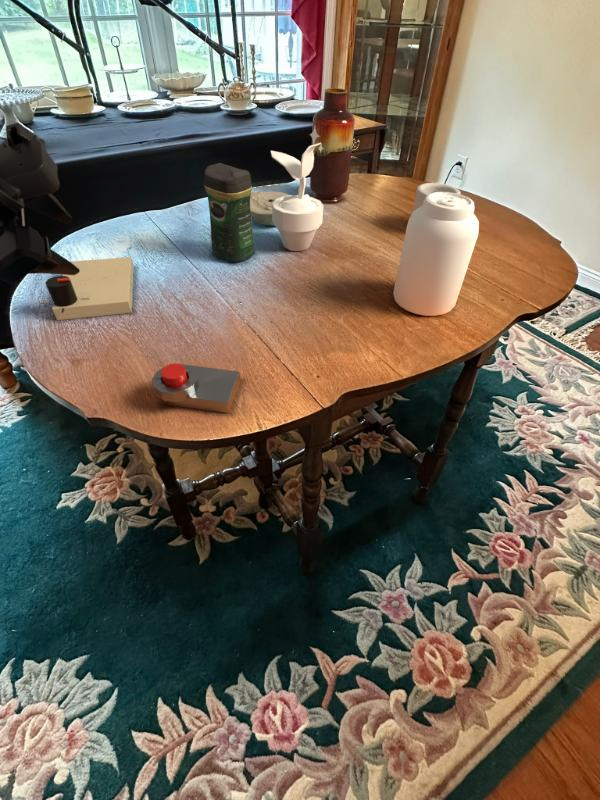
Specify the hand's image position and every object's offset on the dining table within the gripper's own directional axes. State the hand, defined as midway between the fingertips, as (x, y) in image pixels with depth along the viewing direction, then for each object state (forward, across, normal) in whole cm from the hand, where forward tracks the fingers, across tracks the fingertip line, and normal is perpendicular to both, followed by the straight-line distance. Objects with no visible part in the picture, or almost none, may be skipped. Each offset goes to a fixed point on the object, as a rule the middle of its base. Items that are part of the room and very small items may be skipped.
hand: (73, 246), depth 59 cm
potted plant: (+48, +21, -20) cm, 56 cm away
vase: (+68, +46, -30) cm, 87 cm away
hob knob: (+13, +7, +17) cm, 23 cm away
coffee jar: (+40, +20, -7) cm, 45 cm away
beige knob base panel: (+19, +11, +16) cm, 28 cm away
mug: (+69, +21, -51) cm, 89 cm away
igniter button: (+12, -19, -3) cm, 23 cm away
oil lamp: (+52, +38, -13) cm, 66 cm away
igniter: (+17, -20, -4) cm, 27 cm away
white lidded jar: (+48, -7, -40) cm, 63 cm away
